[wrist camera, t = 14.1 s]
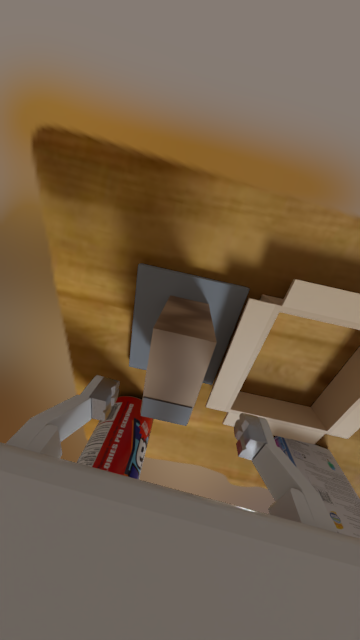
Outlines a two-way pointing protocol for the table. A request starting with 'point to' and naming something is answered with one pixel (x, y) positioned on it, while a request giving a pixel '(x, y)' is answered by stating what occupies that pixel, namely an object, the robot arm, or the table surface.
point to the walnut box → (178, 360)
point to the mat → (164, 282)
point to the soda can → (119, 439)
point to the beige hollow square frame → (284, 417)
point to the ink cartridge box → (326, 483)
